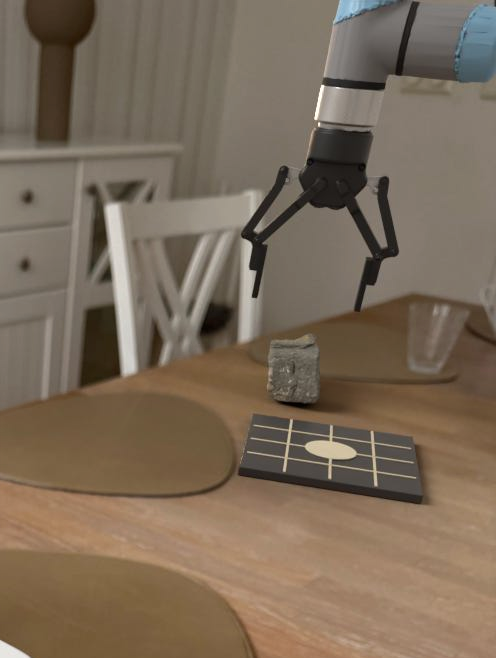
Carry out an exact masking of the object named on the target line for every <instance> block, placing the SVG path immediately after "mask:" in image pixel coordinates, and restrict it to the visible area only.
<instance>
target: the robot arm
mask: <svg viewBox="0 0 496 658" xmlns="http://www.w3.org/2000/svg"><path fill="white" fill-rule="evenodd" d="M389 76H396V77H402V76H403V77H411V78H421V79H429V80H430V79H431V80H439V81H450V82H458V83H460V84H470V83H481V84H483V83H484V84H485V83H489V82H491V81H492V80H493V79H494V78H495V77H496V0H480V1H477V2H475V3H471V4H466V3H465V4H464V3H463V4H461V3H442V2H441V3H440V2H421V1H416V0H339V2H338V6H337V11H336V14H335V18H334V20H333V23H332V30H331V34H330V40H329V45H328V51H327V57H326V61H325V66H324V71H323V77H322V80H321V85H320V89H319V93H318V99H317V104H316V109H315V115H314V120H315V122H317V123H318V124H317V126H314V127H313V129H312V130H311V134H310V139H309V143H308V148H307V153H306V158H305V163H304V165H303V166H302V168H297V167H292V166H289V164H287V163H283V164H281V165H280V167H279V168H278V171H277V174H276V177H275V181H274V183H273V185H272V186H271V188H270V189H269V190H268V192H267V193H266V195H265V197H264V198H263V199H262V200H261V202H260V204H258V207H257V208H256V210H255V211H254V213H253V214H252V215H251V217H250V218H249V220H248V221H247V222H246V224H245V226H244V227H243V228H242V230H241V232H240V237H241V238H242V239H243V240H246V241H248V242H249V243H251V253H250V256H249V257H250V258H249V262H248V269H249V271H255V277H254V283H253V287H252V292H251V298H252V299H258V297H259V295H260V289H261V284H262V278H263V273H264V267H265V262H266V258H267V252H268V247H269V244H267V243H266V244H265V242H266V241H267V240H268V239H269V238H271V236H272V235H274V234H275V233H276V232H277V231H278V230H279V229H280V228H281V227H283V225H285V224H286V223H287V222H288V221H289V220H290V219H291V218H292V217H293V216H295V214H297V213H298V212H299V211H301V210H302V208H304V207H305V206H306V205H308V204H309V205H311V206H312V207H313V208H314V209H323V208H328V209H330V210H333V211H339V210H342V209H344V208H346V209H347V211H348V213H349V215H350V216H351V218H352V220H353V221H354V224H355V226H356V228H357V229H358V231H359V233H360V235H361V238H363V240H364V242H365V244H366V246H367V248H368V250H369V252H370V254H371V256H365V260H364V265H363V269H362V273H361V276H360V280H359V284H358V288H357V292H356V297H355V299H354V300H355V301H354V305H353V311H354V313H360V312H361V309H362V305H363V301H364V297H365V293H366V290H367V286H370V287H374V286H375V285H376V284H377V282H378V277H379V273H380V269H381V265H382V262H383V261H384V260H386V259H389V258H396V257H398V255H399V253H400V249H399V244H398V240H397V235H396V230H395V226H394V221H393V217H392V212H391V211H392V210H391V206H390V202H389V197H388V193H389V187H390V177H389V175H388V174H385V173H383V174H381V175H375V176H374V175H370V176H369V175H367V167H368V162H369V158H370V154H371V150H372V145H373V143H374V142H373V141H374V136H375V135H374V134H373V131H372V129H371V128H375V127H376V126H377V124H378V119H379V117H380V113H381V112H380V111H381V107H382V103H383V100H384V94H385V90H386V86H387V85H386V84H387V81H388V79H389ZM295 179H298V181H299V184H300V186H301V188H302V192H301V193H300V194H299V195H298V196H297V197H296V198H295V199H294V200H292V202H290V204H288V206H286V207H285V208H284V209H283V210H282V211H280V213H278V215H276V216H275V217H274V218H273V219H272V220H271V221H270V222H268V224H266V225H265V226H264V227H263V228H262V229H261V230H260V231H258V232H257V231H256V228H257V226H258V225H259V224H260V222H261V221H262V219H263V218H264V217H265V214H266V213H267V212H268V211H269V209H270V208H271V206H272V205H273V203H274V202H275V201H276V199H277V197H279V195H280V193H281V191H282V190H283V188H284V187H285V186H289V185H291V184H292V182H293V181H294V180H295ZM366 187H369V188H370V192H371V194H372V195H374V196H376V200H377V205H378V209H379V214H380V218H381V223H382V227H383V231H384V236H385V241H386V245H387V246H383V247H381V244H380V242H379V241H378V239H377V237H376V235H375V233H374V231H373V229H372V227H371V225H370V224H369V222H368V220H367V218H366V216H365V214H364V212H363V210H362V208H361V206H360V204H359V203H358V200H357V199H356V197H357V196H358V195H359V194H360V193H361V192H362V191H363V190H364V189H365V188H366Z"/></svg>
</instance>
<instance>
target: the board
mask: <svg viewBox="0 0 496 658" xmlns="http://www.w3.org/2000/svg"><path fill="white" fill-rule="evenodd" d="M415 447H416V446H415V442H414V437H413V436H410V435H405V434H404V435H403V434H397V433H390V432H383V431H375V430H370V429H362V428H355V427H350V426H349V427H348V426H343V425H335V424H334V425H333V424H327V423H322V422H321V423H320V422H315V421H307V420H301V419H294V418H289V417H288V418H287V417H281V416H274V415H266V414H261V413H255V412H254V413H253V412H252V414H251V417H250V422H249V426H248V429H247V435H246V437H245V441H244V446H243V450H242V454H241V457H240V461H239V466H238V471H237V475H238V476H243V477H249V478H256V479H260V480H261V479H262V480H268V481H274V482H280V483H287V484H294V485H299V486H305V487H312V488H317V489H319V488H320V489H326V490H332V491H336V492H338V491H339V492H344V493H351V494H357V495H363V496H369V497H376V498H381V499H387V500H393V501H400V502H407V503H411V504H412V503H413V504H419V505H422V502H423V498H424V492H423V488H422V481H421V476H420V470H419V465H418V464H419V463H418V459H417V453H416V448H415Z"/></svg>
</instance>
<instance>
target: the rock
mask: <svg viewBox="0 0 496 658" xmlns="http://www.w3.org/2000/svg"><path fill="white" fill-rule="evenodd" d="M320 361H321V352H320V348H319V346H318V344H317V336H316V334H314V333H307V334H304V335H303V336H301V337H299V338H295V339H287V338H285V339H277V338H275V339H272V340H271V341H270V344H269V352H268V355H267V363H268V375H267V383H266V384H267V385H266V389H267V391H268V392H269V395H270V397H271V398H272V399H273V400H275V401H279V402H285V403H286V402H287V403H301V404H318V403H320V391H321V365H320V364H321V362H320Z"/></svg>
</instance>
